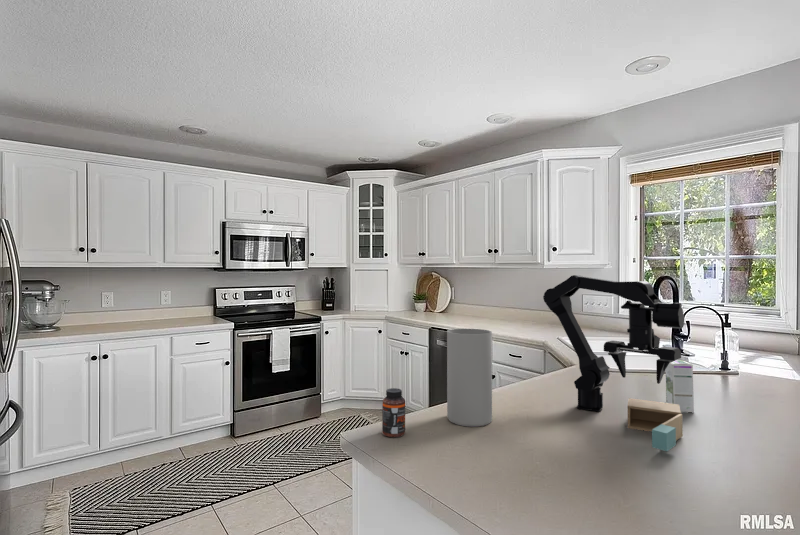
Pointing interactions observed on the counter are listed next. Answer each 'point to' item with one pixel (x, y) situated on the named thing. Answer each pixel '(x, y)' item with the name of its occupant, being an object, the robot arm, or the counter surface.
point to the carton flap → (667, 433)
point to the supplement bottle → (393, 413)
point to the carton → (649, 413)
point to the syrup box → (680, 385)
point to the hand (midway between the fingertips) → (640, 380)
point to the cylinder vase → (469, 377)
